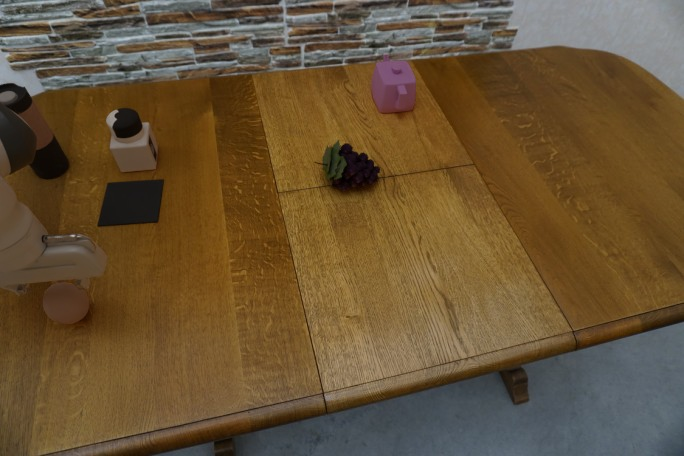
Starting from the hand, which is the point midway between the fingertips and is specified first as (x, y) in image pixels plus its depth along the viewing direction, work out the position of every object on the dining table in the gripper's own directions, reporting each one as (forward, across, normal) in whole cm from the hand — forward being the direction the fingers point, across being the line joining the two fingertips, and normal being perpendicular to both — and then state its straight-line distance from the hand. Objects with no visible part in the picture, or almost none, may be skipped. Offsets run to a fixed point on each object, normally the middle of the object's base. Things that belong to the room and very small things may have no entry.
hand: (55, 288), depth 76 cm
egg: (+10, 0, 0) cm, 10 cm away
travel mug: (+9, +13, -38) cm, 41 cm away
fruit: (+10, -53, -28) cm, 60 cm away
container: (+10, -6, -39) cm, 40 cm away
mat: (+9, -6, -26) cm, 28 cm away
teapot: (+10, -69, -57) cm, 90 cm away
